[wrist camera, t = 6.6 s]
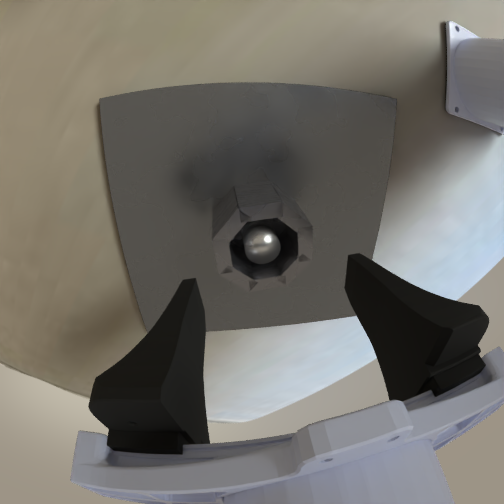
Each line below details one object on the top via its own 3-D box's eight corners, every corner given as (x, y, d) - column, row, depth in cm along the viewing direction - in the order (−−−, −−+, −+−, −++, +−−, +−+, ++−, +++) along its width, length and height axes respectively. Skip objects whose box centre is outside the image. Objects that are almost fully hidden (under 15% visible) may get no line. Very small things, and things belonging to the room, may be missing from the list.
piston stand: (392, 98, 15) (421, 103, 12) (353, 311, 24) (367, 336, 22) (103, 98, 13) (80, 100, 10) (148, 328, 22) (143, 357, 20)
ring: (294, 177, 17) (312, 198, 14) (297, 251, 19) (311, 281, 17) (208, 189, 17) (206, 212, 14) (221, 262, 19) (223, 296, 16)
